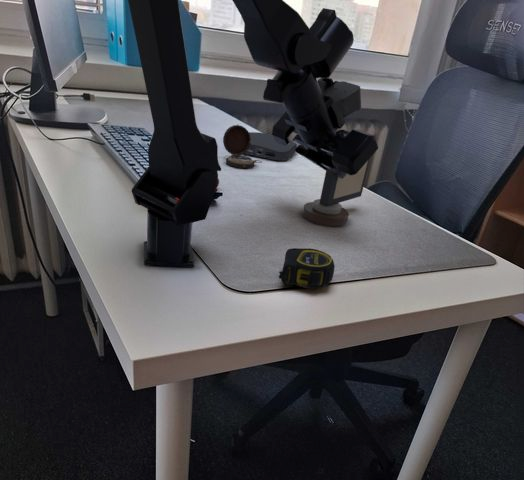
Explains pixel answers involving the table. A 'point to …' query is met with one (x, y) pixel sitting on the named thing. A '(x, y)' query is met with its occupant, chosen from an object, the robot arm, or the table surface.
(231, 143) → the compass
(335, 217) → the swivel stand
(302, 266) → the tape measure
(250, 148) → the media streaming box
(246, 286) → the table surface
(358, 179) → the frame
